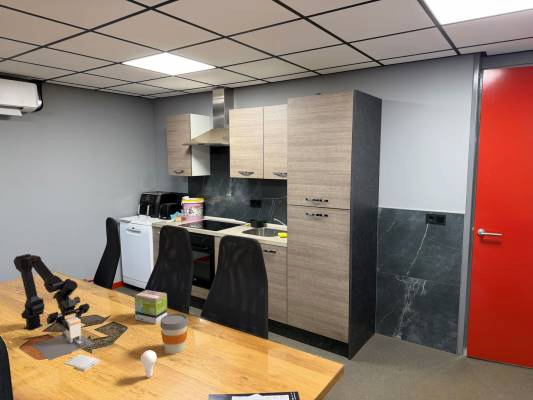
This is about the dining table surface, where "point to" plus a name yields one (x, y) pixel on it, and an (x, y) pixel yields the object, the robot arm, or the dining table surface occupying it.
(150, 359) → the lightbulb
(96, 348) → the dining table surface
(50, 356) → the mounting plate
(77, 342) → the rail
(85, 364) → the hard drive
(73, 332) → the block
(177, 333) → the reusable coffee cup
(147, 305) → the tea box
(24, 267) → the robot arm
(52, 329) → the dining table surface
